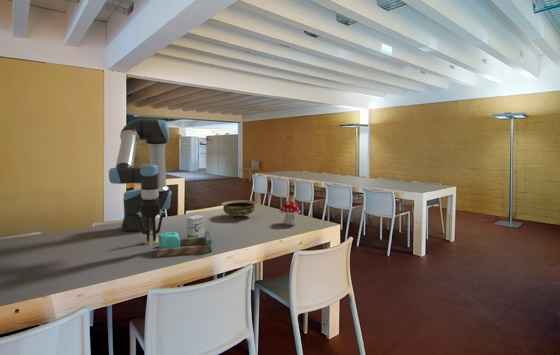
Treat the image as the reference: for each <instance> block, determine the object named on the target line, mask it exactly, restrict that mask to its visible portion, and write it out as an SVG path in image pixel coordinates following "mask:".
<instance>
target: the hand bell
mask: <svg viewBox="0 0 560 355" xmlns="http://www.w3.org/2000/svg"><path fill="white" fill-rule="evenodd" d="M152 233H153V230H152V218H150V234H152ZM143 244H144V245H149V246H150V241H148V242H147V237H145V239H144V241H143ZM157 244H159V236H158V233H157V234H156V240H155V241H154V245H157Z"/></svg>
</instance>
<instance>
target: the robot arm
mask: <svg viewBox="0 0 560 355" xmlns="http://www.w3.org/2000/svg"><path fill="white" fill-rule="evenodd" d="M170 137H171V136H170V132H169V125H168V122H167V120H162V119H140V118H138V119H134V120H131V121H130V122H128V123H127V124H126V125H125V126H123V128H122V130H121V131H120V135H119V139H120V146H119V150H118V155H117V159H116V164H115V167H112V168H111V167H110V169H109V170H108V180H109V182H110V184H113V185H114V184H116V185H117V184H118V185H124V184H140V188H136V189H131V190H127V191H125V192H124V193H123V199H122V200H123V214H124V215H123V219H122V223H121V228H120V229H121V231H123V232H138V231H139V232H140V231H141V233H142V235H146V238H147V242H148V241H150V245H149V250H153V249H154V247H155V244H154V241H155V240H156V234H157V235H158V234H159V233H160V231H161V227H162V223H163V218H164V217H165V215H166V212H165V211H164V210H169V209H170V206H171V200H172V199H171V197H172V190H170V188H169V186H168V185H167V175H166V148H165V147H166V145H167V144H168V142H169V141H170ZM139 141H145V144H146V145H147V146H148V152H149V153H148V155H149V164H141V165H140V167H134V163H135V156H136V151H137V150H136V149H137V144H138V143H139ZM158 215H159V216H160V217H159V221H158V225H156V218H157V217H158ZM150 218H152V230H153V233H152V234H150ZM156 228H157V229H156Z"/></svg>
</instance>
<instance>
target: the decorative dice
mask: <svg viewBox="0 0 560 355" xmlns="http://www.w3.org/2000/svg"><path fill="white" fill-rule="evenodd" d="M158 238H159V243H158V249H164V248H176V247H181V246H180V239H181V238H180V235H179V233H178V232H175V231H167V232H163V233H160V234H159V236H158Z"/></svg>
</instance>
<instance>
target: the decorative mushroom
mask: <svg viewBox="0 0 560 355" xmlns="http://www.w3.org/2000/svg"><path fill="white" fill-rule="evenodd" d="M278 212H279V213H280V214H282V215H285V217H283V224H284V225H286V226H294V225H295V224H297V219H296V217H295V215H298V214H301V212H302V211H301V209H300V207H299V205H298V203H296V202H295V201H292V200H287V201H285V202H283V203H282V205H281V208H280V209H279V211H278Z"/></svg>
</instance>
